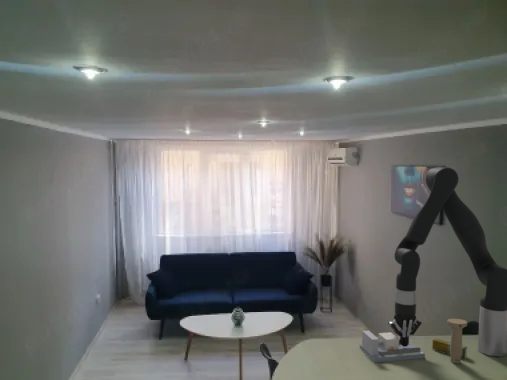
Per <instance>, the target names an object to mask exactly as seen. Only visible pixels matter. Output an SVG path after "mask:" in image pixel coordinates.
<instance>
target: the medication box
mask: <svg viewBox="0 0 507 380" xmlns="http://www.w3.org/2000/svg"><path fill="white" fill-rule="evenodd" d="M450 342H451V341H447V340H443V339H440V338H436V337H434V338H433V339H432V346H431V348H433V349H435V350H434V351H437V352H441V353H444V354H447V355H450ZM433 349H432V350H433ZM467 356H468V346H465V345H462V356H461V359H464V360H466V359H467Z"/></svg>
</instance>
